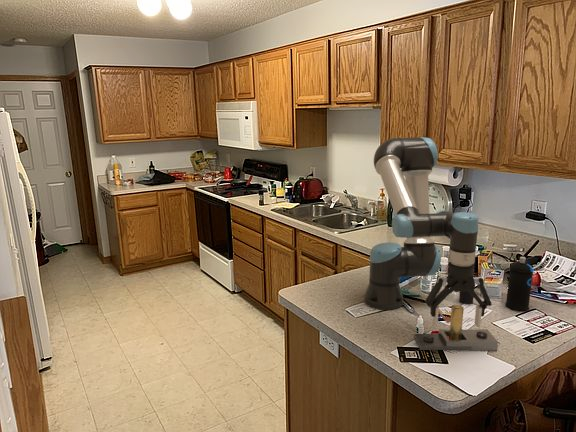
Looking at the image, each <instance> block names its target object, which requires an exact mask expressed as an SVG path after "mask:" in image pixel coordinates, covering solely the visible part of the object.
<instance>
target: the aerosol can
mask: <svg viewBox="0 0 576 432" xmlns="http://www.w3.org/2000/svg"><path fill="white" fill-rule="evenodd" d="M526 259H527V258H526V257H525V256H520V257H519V262H513V263H512V264H511V265H509V275H508V283H507V292H506V300H505V301H506V302H505V304H504V305H505V307H506V308H507V309H509V310H511V311H515V312H519V313H523V312H528V311H529V310H530V307H529V306H530V300H531V291H532V283H533V276H534V271H535V269H534V268H533V267H532V266H531V265H530V264H529V263H526Z"/></svg>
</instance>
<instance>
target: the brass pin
mask: <svg viewBox="0 0 576 432" xmlns="http://www.w3.org/2000/svg"><path fill="white" fill-rule="evenodd" d="M450 309H451V311H450V317H451V319H450V322H449V330H450V332H449V340H461V333H462V330H463V320H464V310H465V309H464V306H462V305H459V304H453V305H451V308H450Z"/></svg>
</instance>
